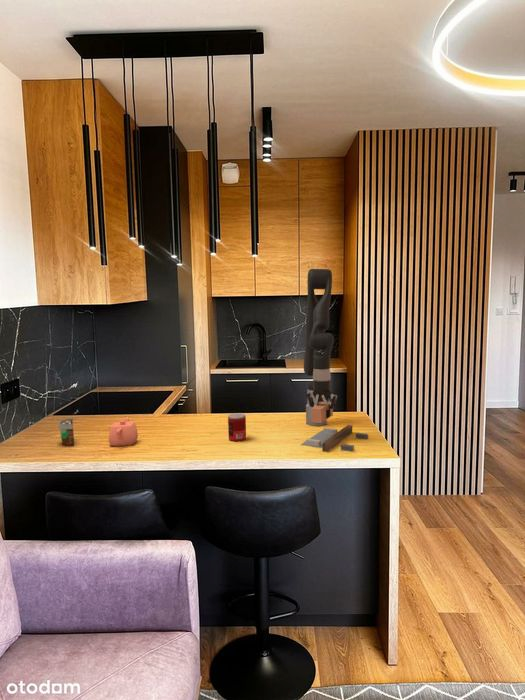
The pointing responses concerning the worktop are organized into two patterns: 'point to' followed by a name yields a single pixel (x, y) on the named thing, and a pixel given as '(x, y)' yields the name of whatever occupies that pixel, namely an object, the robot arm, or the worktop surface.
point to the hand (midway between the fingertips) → (322, 416)
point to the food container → (67, 432)
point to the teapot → (123, 433)
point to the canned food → (237, 427)
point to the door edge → (336, 438)
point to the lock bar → (319, 413)
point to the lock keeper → (320, 437)
